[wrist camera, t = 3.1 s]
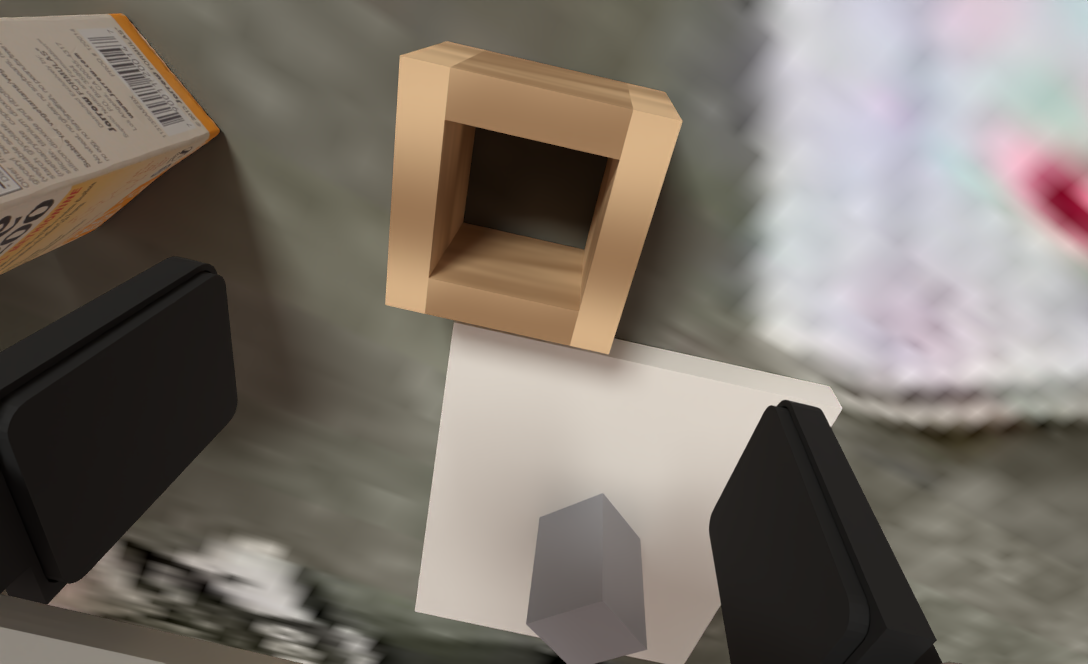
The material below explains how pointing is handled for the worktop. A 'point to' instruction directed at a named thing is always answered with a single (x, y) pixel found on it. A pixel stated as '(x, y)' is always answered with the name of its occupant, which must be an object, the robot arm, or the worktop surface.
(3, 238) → the supplement box
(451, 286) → the collar
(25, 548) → the robot arm
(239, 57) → the worktop surface
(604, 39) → the worktop surface
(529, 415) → the base plate
